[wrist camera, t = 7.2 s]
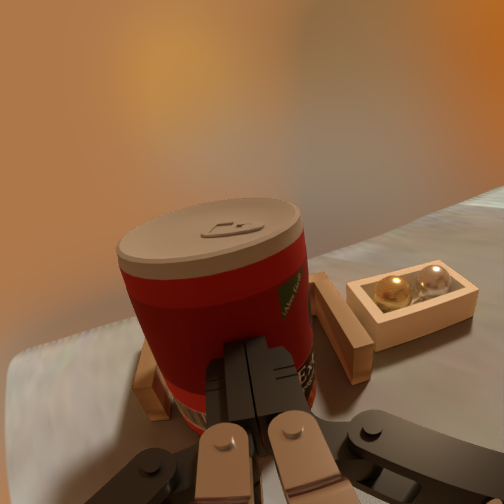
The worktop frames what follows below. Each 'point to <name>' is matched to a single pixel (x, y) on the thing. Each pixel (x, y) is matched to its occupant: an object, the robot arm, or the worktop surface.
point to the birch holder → (322, 304)
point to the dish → (410, 308)
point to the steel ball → (432, 282)
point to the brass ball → (392, 294)
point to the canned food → (219, 290)
